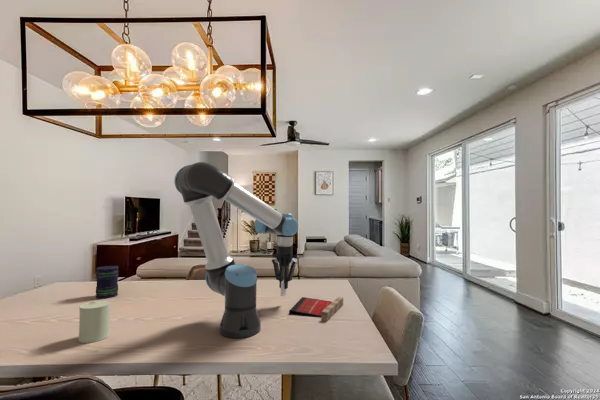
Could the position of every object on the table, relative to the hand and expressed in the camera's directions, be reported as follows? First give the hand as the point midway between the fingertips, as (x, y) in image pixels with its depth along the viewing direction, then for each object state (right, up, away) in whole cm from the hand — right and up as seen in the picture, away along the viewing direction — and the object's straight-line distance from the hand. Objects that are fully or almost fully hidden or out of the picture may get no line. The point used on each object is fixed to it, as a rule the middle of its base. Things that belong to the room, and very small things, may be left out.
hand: (283, 295), depth 142 cm
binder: (+14, -5, -4) cm, 15 cm away
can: (-65, -3, -36) cm, 74 cm away
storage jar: (-93, -5, +14) cm, 94 cm away
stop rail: (+23, -4, -10) cm, 25 cm away
